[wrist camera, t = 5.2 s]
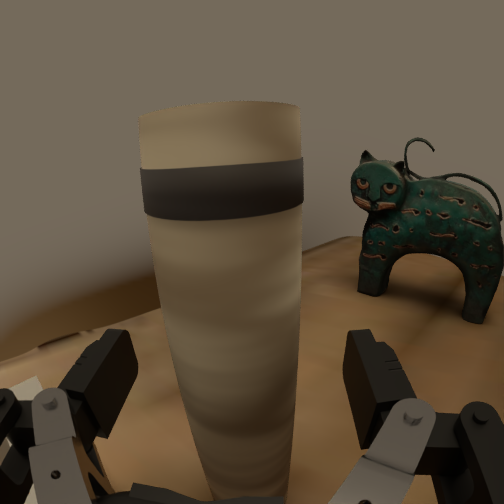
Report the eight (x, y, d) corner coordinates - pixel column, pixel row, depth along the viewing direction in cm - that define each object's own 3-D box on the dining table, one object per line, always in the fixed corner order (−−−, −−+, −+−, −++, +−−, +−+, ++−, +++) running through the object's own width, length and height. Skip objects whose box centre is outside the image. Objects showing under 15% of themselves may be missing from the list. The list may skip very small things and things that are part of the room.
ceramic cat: (341, 291, 40) (347, 132, 33) (361, 275, 45) (367, 134, 38) (486, 333, 27) (519, 152, 21) (489, 308, 32) (514, 152, 25)
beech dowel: (245, 455, 18) (219, 119, 11) (302, 487, 15) (330, 110, 8) (197, 496, 15) (108, 125, 8) (255, 536, 12) (216, 95, 5)
